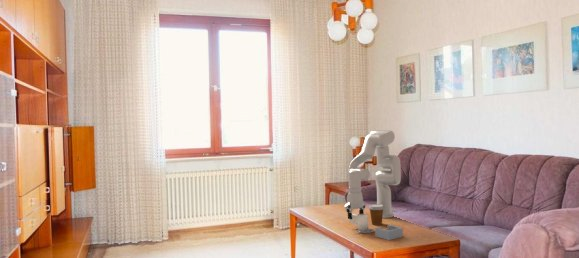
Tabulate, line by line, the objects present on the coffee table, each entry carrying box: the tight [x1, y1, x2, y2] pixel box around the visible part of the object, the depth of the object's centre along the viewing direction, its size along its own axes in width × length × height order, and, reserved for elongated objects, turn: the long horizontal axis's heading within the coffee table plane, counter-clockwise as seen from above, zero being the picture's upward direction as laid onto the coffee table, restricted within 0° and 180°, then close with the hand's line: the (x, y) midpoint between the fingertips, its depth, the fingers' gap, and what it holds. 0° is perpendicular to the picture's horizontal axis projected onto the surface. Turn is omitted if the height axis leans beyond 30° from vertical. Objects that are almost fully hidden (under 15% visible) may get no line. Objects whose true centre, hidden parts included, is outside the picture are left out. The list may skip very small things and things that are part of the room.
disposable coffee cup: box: [368, 203, 384, 226], centre depth 279 cm, size 10×10×12 cm
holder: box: [374, 224, 404, 241], centre depth 250 cm, size 11×10×5 cm
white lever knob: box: [349, 213, 369, 231], centre depth 267 cm, size 13×6×9 cm, turn 36°
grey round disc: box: [356, 227, 375, 234], centre depth 262 cm, size 10×10×1 cm
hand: (355, 217), depth 269 cm, fingers open, 9 cm apart
